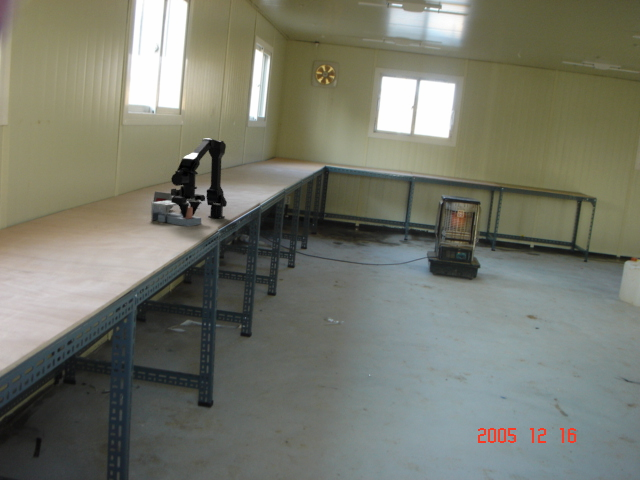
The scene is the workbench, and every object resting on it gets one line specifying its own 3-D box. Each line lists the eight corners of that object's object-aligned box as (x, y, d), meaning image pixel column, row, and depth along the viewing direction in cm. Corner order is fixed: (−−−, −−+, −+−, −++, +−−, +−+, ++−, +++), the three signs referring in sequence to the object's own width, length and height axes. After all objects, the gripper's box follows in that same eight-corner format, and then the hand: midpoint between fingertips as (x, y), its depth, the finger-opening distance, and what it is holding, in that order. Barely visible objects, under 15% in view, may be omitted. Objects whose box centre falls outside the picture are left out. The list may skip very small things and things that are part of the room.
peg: (187, 222, 284) (187, 206, 282) (193, 224, 282) (194, 207, 281) (181, 223, 280) (182, 207, 279) (188, 224, 278) (189, 208, 277)
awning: (168, 217, 294) (168, 200, 292) (183, 220, 290) (183, 202, 288) (150, 220, 283) (151, 202, 281) (166, 223, 279) (166, 204, 277)
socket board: (171, 218, 291) (171, 212, 291) (201, 223, 284) (201, 217, 283) (158, 221, 282) (158, 215, 282) (187, 226, 275) (188, 220, 274)
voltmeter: (152, 211, 308) (152, 193, 306) (151, 208, 319) (152, 190, 317) (203, 213, 316) (204, 194, 314) (201, 209, 327) (201, 192, 325)
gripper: (187, 181, 289) (187, 212, 292) (162, 183, 272) (161, 216, 275) (206, 183, 284) (205, 215, 287) (181, 186, 268) (180, 219, 271)
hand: (188, 216), depth 280 cm, fingers open, 6 cm apart
